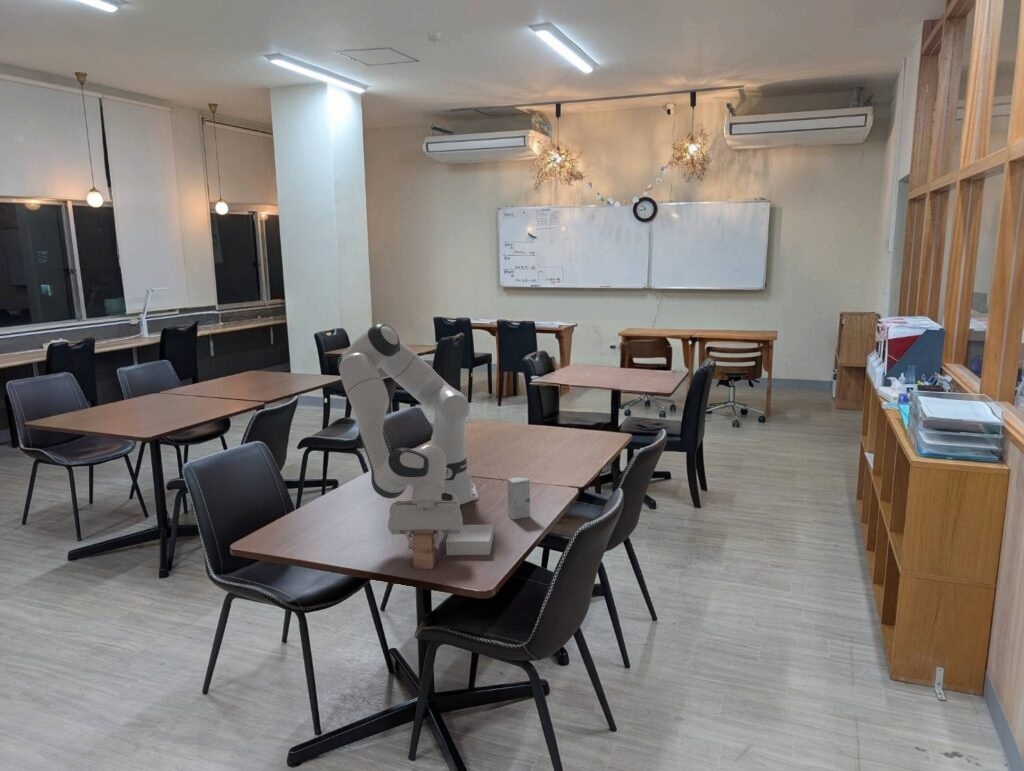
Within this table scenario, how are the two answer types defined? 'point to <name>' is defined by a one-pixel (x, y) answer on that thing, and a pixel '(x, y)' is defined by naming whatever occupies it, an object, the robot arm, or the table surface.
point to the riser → (471, 541)
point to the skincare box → (518, 498)
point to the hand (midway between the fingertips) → (423, 548)
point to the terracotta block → (423, 549)
